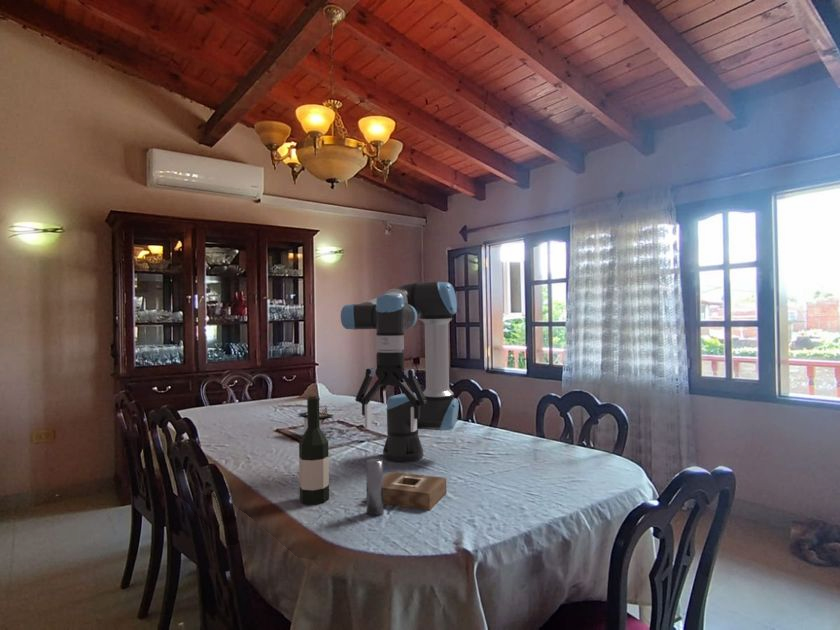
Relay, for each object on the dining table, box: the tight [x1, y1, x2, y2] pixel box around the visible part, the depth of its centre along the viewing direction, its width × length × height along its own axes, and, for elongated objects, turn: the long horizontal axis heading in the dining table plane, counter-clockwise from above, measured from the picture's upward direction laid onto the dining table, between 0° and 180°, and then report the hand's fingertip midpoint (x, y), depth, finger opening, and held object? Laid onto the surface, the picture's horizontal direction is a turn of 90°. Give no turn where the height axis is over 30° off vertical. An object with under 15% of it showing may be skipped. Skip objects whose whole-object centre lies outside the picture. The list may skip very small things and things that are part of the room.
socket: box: [383, 471, 447, 511], centre depth 148 cm, size 18×14×5 cm
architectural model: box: [297, 406, 334, 434], centre depth 224 cm, size 35×28×14 cm
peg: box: [365, 458, 384, 518], centre depth 136 cm, size 4×4×14 cm
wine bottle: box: [298, 394, 330, 506], centre depth 147 cm, size 8×8×30 cm
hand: (390, 429), depth 139 cm, fingers open, 13 cm apart
